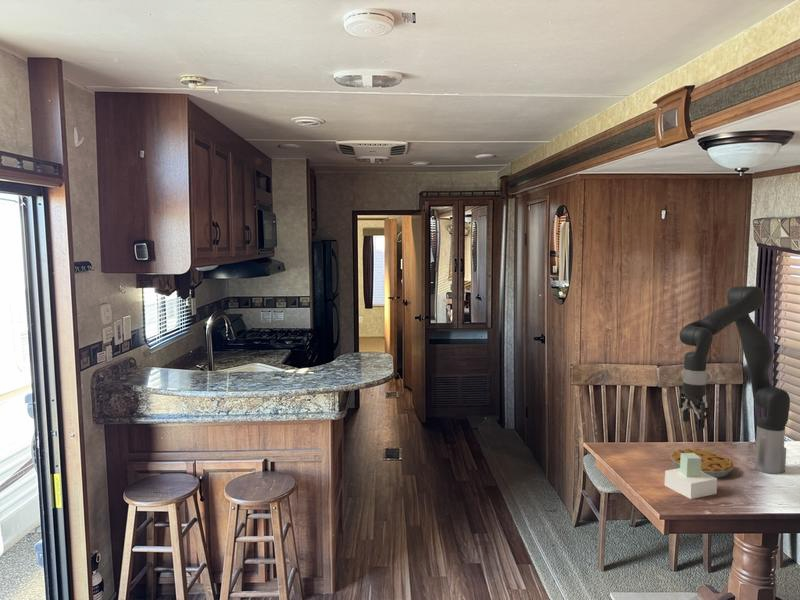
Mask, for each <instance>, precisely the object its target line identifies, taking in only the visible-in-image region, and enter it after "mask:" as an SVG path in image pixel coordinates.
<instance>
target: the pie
mask: <svg viewBox="0 0 800 600" xmlns="http://www.w3.org/2000/svg"><path fill="white" fill-rule="evenodd" d="M681 453H695V454H696V455H698V456H699V457H700V458H701V471H702V472H704V473H706V474H708V475H711V476H713V477H715V478H717V479H718V478H723V477H726V476H728V475H729V473H730V472H731V471H732V470H733V469H734V467H735V465H734V464H733V461H732V460H730V458H728V457H726V456H725V457H724V456H722V455H721V454H719V453H713V452H712V451H709V450H708V451H706V450H705V451H704V450H702V449H698V448H696V449H691V448H685V450H683V449H678V451H674V452H672V454H671V455H670V458H671V461H673V464H674V466H675V468H676V469H677V468H680V459H681Z"/></svg>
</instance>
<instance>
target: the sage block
mask: <svg viewBox="0 0 800 600" xmlns="http://www.w3.org/2000/svg"><path fill="white" fill-rule="evenodd" d="M680 472H681V473H682V474H684V475H685V476H686V477H701V458H700V457H699V456H698V455H696V454H695V453H681V459H680Z"/></svg>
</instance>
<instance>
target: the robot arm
mask: <svg viewBox="0 0 800 600" xmlns="http://www.w3.org/2000/svg"><path fill="white" fill-rule="evenodd" d="M726 295H727V296H726V297H727V298H726V301H727V304H728V305H726V306H722V307H719V308H717V309H715V310H712V311H711V312H710V313H709V314H707V315H705V316H704V317H703V318H702V319H698V320H696V321H692V322H691V323H688V324H686V325H685V326H683V327H682V328H681V330H680V332H679V341H681V343H683V344H684V345H686V346H693V347H696V348H695V351H689V352H688V351H687V352H686V353H685V355H684V361H683V364H684V365H683V374H682V392H679V399H678V409H681V411H682V421H683V422H684V423H685V422H686V423H687V422H690V417H691V416H690V415H691V413H690V410H693V412H694V413H695V414H696V417H697V421H696V422H697V423H696V424H697V425H696V428H697V429H698V430H704V429H705V424H706V419H710V416H711V415H710V414H711V413H710V412H711V411H710V402H709V401H704V397H705V396H706V395H707V381H708V379H707V377H708V376H707V359H708V355H709V353H710V352H709V351H710V349H711V347H712V344H713V339H714V336H715V335H717V334H718V333H720V332H721V331H722V330H724V329H726V328H727V326H729V325H730V324H732V323H733V322H735V326H736V328H737V332H738V335H739V339H740V343H741V347H742V351H743V354H744V358H745V361H746V365H747V369H748V374H749V376H750V377H749V378H750V384H751V392H752V398H753V400H754V402H755V404H756V405H757V406H758V407H760V408H762V409H765V410H766V416H761V417H759V418H757V421H756V436H755V437H756V440H755V459H754V468H755V469H756V470H757V471H760V472H762V473H766V474H770V475H771V474H772V475H778V474H782V473H783V472H784V473H785V472H786V463H787V462H786V461H787V448H786V447H785V437H786V436H785V435H786V426H787V424H788V421H789V415H790V414H789V413H790V406H791V400H790V399H791V398H790V395H789V393H788V392H787V391H786V390H784V389H782V388H778V387H777V386H776V387H775V386H773V385H772V383H771V381H770V378H769V368H770V366H771V363H772V361H773V350H772V346H771V341H770V340H769V338H768V336H767V335H766V333H765V332H764V331H763V330H762V329H761V328H760V327H759V326H757V324H756V323H755V322H754V321H753V320H752V318H751V316H750V314H751V313H754V312H756V311H757V310H758V311H759V309H761V308H762V307H763V305H764V303H765V298H766V297H765V293H764V290H763V289H762V288H761V287H758V286H754V285H753V286H752V285H751V286H733V287H731V288H729V289H728V291H727V294H726Z"/></svg>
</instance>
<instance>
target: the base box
mask: <svg viewBox="0 0 800 600" xmlns="http://www.w3.org/2000/svg"><path fill="white" fill-rule="evenodd" d="M664 486H665V487H667V488H669V489H671V490H672V491H674V492H676V493H679V494H680V495H682V496H684V497H686V498H687V499H690V500H692V499H693V500H694V499H699V498H703V497H707V496H711V495H716V494H718V493H717V491H718V478H715V477H713V476H711V475H708V474H706V473H704V472H702V471H701V477H686V476H685V475H684V474H682V473H681V472H680V468H677V467H676V468H673V469H669V470H668V469H667V470H665V471H664Z"/></svg>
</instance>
